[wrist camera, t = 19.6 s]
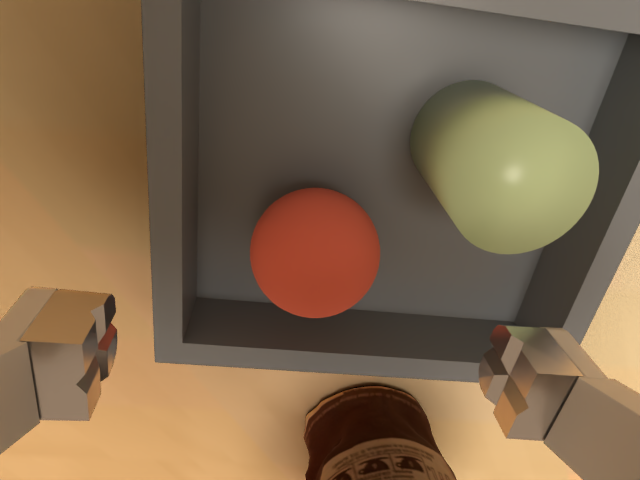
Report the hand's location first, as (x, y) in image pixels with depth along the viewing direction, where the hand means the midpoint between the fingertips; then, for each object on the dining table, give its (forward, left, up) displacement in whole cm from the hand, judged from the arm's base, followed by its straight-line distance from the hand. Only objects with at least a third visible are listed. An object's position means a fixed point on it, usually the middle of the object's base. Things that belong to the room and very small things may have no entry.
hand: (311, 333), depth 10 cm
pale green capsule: (+6, +2, -9) cm, 11 cm away
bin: (+3, +1, -9) cm, 10 cm away
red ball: (+1, -2, -6) cm, 7 cm away
